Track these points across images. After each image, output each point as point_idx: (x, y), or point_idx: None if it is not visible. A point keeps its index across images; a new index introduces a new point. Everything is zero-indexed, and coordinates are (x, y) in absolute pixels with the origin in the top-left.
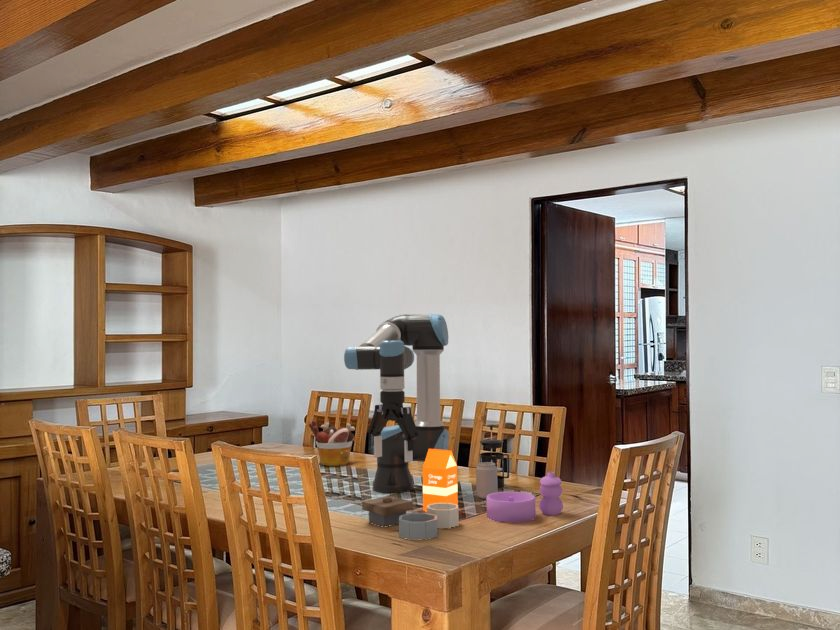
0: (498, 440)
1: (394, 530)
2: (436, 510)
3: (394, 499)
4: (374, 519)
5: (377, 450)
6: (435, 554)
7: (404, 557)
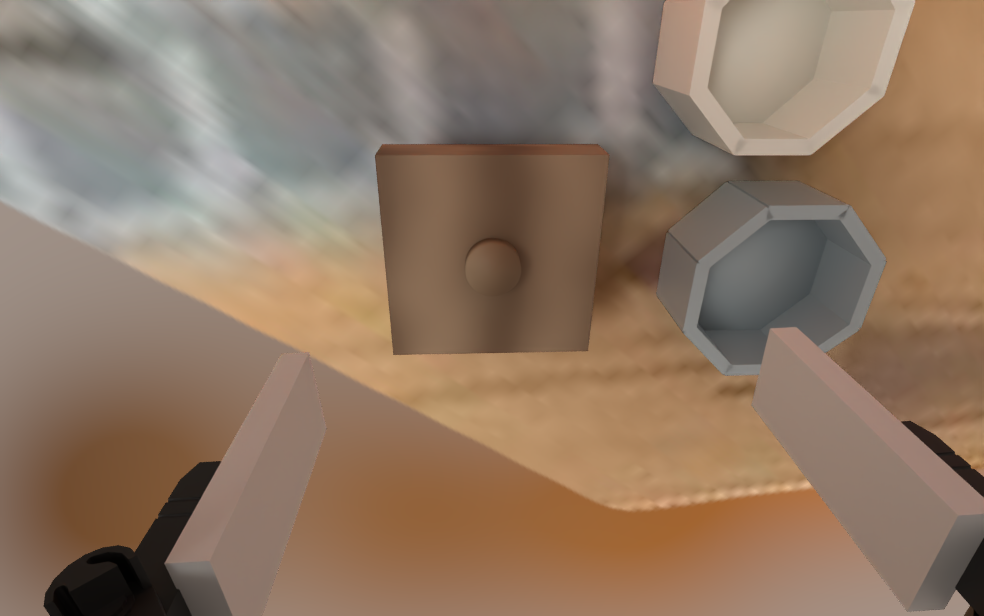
0: None
1: (609, 284)
2: (812, 152)
3: (483, 200)
4: None
5: (303, 460)
6: (930, 379)
7: None
